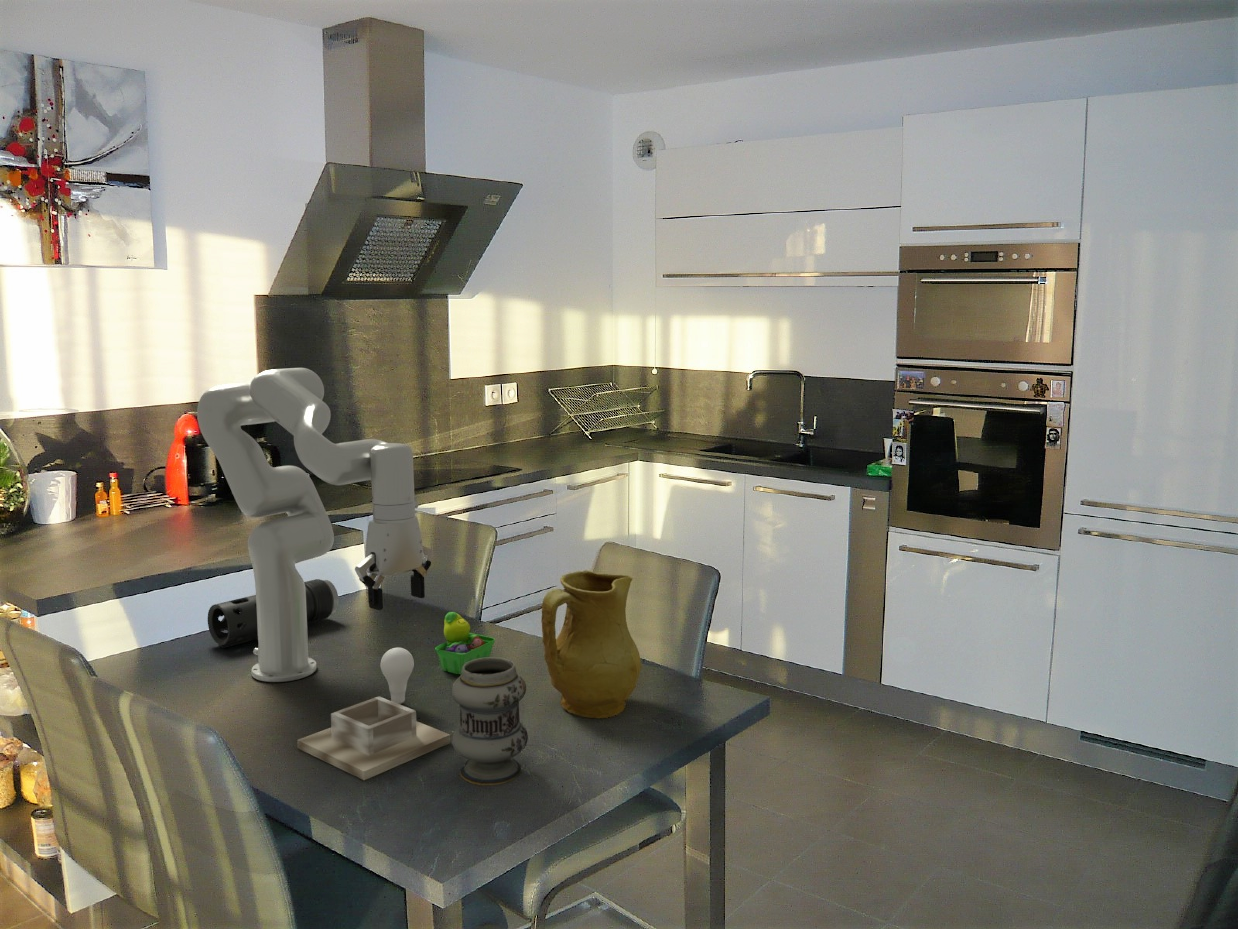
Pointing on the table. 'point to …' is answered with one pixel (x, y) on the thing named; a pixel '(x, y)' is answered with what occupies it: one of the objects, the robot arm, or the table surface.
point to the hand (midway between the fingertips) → (397, 602)
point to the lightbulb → (397, 672)
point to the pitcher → (591, 644)
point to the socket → (373, 738)
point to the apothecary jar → (489, 720)
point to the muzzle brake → (244, 613)
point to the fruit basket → (461, 644)
